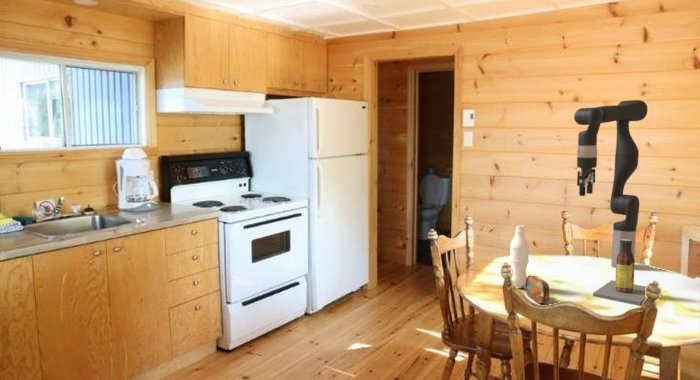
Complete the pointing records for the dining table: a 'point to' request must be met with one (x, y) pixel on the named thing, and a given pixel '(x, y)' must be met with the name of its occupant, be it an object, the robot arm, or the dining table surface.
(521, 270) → the water bottle
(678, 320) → the dining table surface
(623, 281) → the sauce bottle
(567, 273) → the dining table surface
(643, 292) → the charcoal board
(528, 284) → the tin
